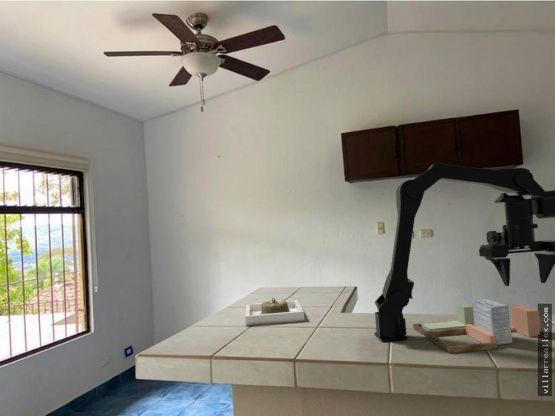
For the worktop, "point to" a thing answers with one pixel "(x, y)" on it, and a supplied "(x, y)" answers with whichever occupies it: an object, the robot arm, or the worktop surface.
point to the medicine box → (493, 319)
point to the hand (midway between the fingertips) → (525, 284)
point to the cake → (274, 307)
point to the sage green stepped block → (463, 318)
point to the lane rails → (445, 346)
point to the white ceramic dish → (273, 314)
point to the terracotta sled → (522, 322)
